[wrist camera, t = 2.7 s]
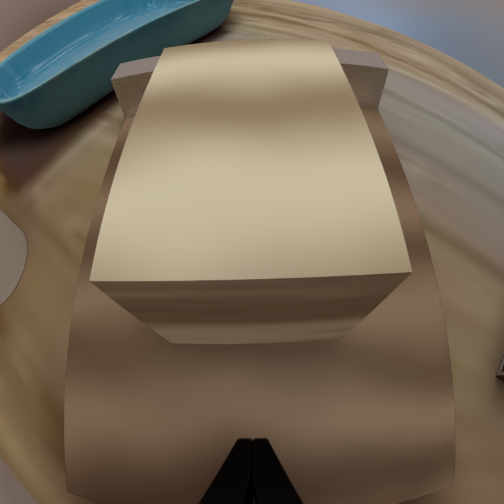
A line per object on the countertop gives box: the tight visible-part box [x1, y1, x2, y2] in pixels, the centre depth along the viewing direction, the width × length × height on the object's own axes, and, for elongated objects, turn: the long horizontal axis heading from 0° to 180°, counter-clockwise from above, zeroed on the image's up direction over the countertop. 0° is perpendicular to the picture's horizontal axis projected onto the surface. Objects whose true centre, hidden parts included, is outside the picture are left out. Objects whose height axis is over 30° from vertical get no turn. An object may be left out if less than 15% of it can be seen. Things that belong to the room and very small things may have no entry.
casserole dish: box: [0, 0, 233, 129], centre depth 28 cm, size 37×22×7 cm, turn 144°
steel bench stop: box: [111, 48, 389, 119], centre depth 21 cm, size 2×20×4 cm, turn 91°
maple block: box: [90, 39, 412, 344], centre depth 13 cm, size 12×8×8 cm, turn 1°
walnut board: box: [64, 108, 455, 504], centre depth 17 cm, size 29×20×2 cm
